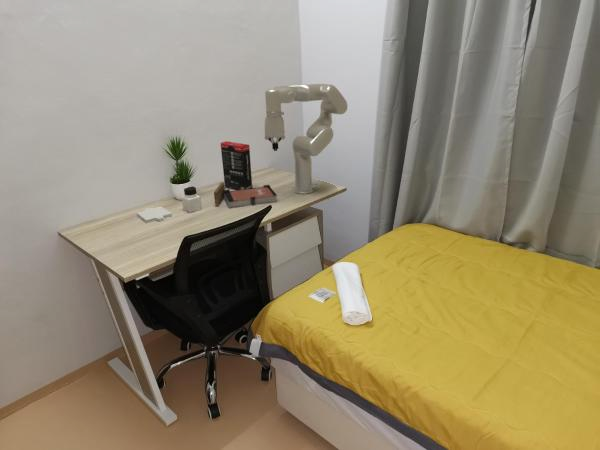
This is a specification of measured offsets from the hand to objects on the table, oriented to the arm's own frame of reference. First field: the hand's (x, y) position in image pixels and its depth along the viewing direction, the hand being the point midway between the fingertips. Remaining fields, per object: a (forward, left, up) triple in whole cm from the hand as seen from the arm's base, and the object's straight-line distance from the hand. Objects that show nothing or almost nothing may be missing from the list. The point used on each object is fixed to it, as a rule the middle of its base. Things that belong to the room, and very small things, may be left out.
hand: (275, 150), depth 209 cm
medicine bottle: (+43, +15, -28) cm, 53 cm away
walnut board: (+31, +3, -27) cm, 42 cm away
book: (+15, +1, -28) cm, 32 cm away
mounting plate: (+60, +24, -28) cm, 71 cm away
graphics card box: (+25, -18, -28) cm, 41 cm away
